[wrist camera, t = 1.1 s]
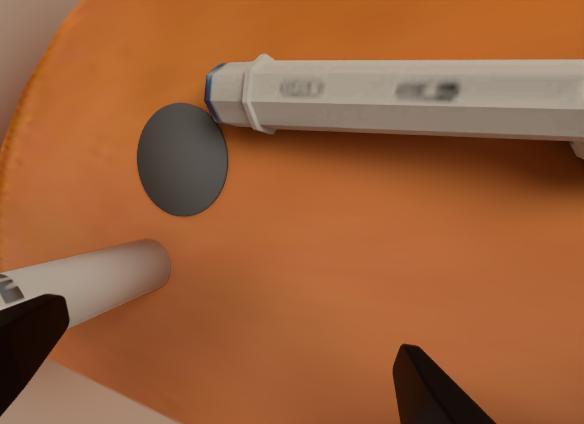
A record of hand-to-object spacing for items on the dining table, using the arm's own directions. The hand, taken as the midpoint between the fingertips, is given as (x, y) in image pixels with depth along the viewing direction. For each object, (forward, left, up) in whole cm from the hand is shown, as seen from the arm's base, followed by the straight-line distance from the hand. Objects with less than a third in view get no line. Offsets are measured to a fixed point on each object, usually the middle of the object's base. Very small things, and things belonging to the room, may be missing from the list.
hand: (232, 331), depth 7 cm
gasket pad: (+10, +9, -13) cm, 19 cm away
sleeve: (+4, +17, -13) cm, 21 cm away
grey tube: (+5, -8, -13) cm, 16 cm away
